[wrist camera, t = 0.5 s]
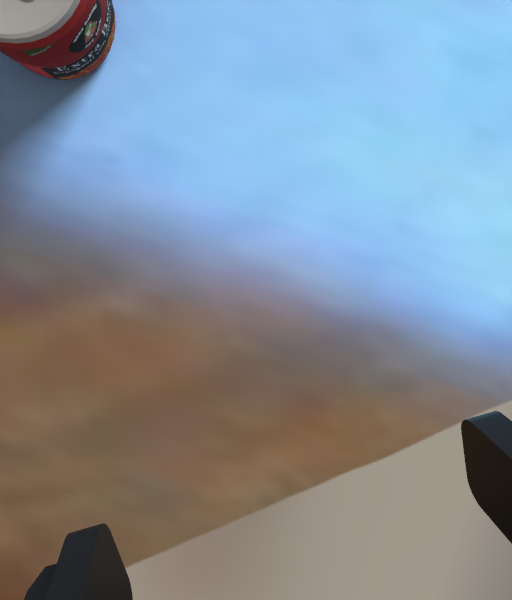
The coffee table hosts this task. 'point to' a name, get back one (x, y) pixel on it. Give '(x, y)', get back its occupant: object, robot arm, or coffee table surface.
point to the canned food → (57, 35)
